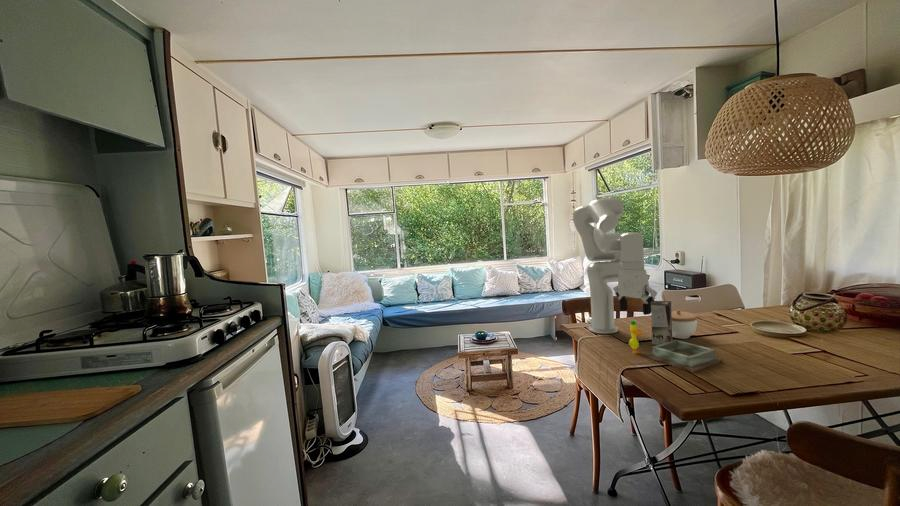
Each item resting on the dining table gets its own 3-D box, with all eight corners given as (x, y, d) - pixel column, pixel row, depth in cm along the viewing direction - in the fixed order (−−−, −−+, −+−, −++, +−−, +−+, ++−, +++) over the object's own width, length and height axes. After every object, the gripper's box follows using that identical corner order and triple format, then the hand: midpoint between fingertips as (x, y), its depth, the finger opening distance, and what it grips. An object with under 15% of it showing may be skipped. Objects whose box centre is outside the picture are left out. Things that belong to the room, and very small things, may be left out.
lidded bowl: (694, 342, 137) (694, 315, 136) (658, 337, 145) (657, 311, 145) (700, 334, 146) (699, 308, 145) (665, 330, 154) (664, 305, 154)
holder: (646, 357, 126) (645, 346, 125) (675, 348, 132) (674, 338, 132) (692, 372, 111) (692, 360, 111) (722, 361, 117) (722, 350, 117)
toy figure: (646, 355, 128) (645, 323, 127) (638, 356, 127) (637, 324, 126) (633, 349, 134) (632, 318, 134) (625, 350, 134) (624, 320, 133)
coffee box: (670, 346, 134) (669, 305, 133) (651, 344, 138) (650, 304, 137) (673, 340, 141) (671, 300, 140) (654, 337, 145) (653, 299, 144)
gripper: (606, 266, 135) (608, 309, 135) (647, 268, 119) (649, 317, 120) (620, 264, 138) (622, 307, 138) (661, 266, 122) (664, 314, 123)
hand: (635, 311), depth 129 cm, fingers open, 9 cm apart
